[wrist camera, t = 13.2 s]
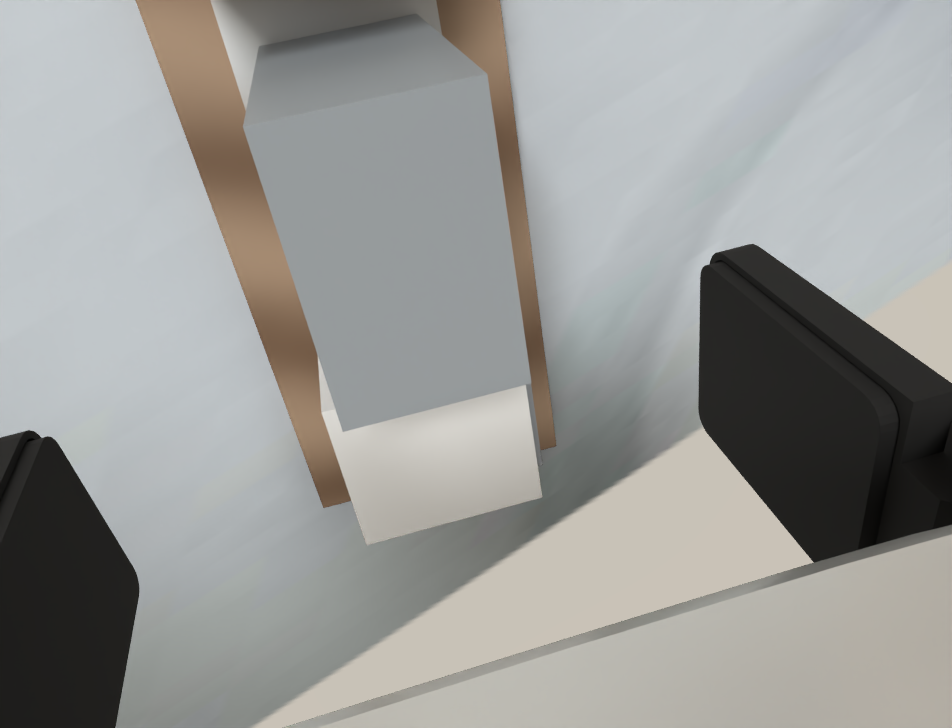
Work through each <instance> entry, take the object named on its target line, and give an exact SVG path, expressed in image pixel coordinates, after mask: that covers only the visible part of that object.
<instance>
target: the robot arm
mask: <svg viewBox="0 0 952 728" xmlns="http://www.w3.org/2000/svg"><path fill="white" fill-rule="evenodd" d="M699 416H700V420H701V422H702V425H703V427H704V429H705V431H706V432H707V434H708V435H709V436H710V437H711V438H712V440H713V441H714V442H715V443H716V444H717V446H718V447H719V448H720V449H721V451H722V452H723V453H724V454H725V455H726V456H727V458H728V459H729V460H730V461H731V463H732V464H733V465H734V466H735V467H736V469H737V470H738V471H739V472H740V474H741V475H742V476H743V477H744V478H745V480H746V481H747V482H748V483H749V484H750V485H751V487H752V488H753V489H754V490H755V492H756V493H757V494H758V495H759V497H760V498H761V499H762V500H763V501H764V503H765V504H766V505H767V506H768V507H769V509H770V510H771V511H772V512H773V513H774V515H775V516H776V517H777V518H778V520H779V521H780V522H781V523H782V524H783V526H784V527H785V528H786V529H787V530H788V532H789V533H790V534H791V535H792V536H793V538H794V539H795V540H796V541H797V543H798V544H799V545H800V546H801V547H802V549H803V550H804V551H805V552H806V554H807V555H808V556H809V557H810V558H811V560H812V561H813V562H814V563H812V564H808V565H804V566H801V567H798V568H794V569H791V570H788V571H784V572H781V573H778V574H775V575H771V576H768V577H765V578H762V579H758V580H755V581H752V582H749V583H745V584H742V585H739V586H736V587H732V588H729V589H726V590H723V591H719V592H716V593H713V594H710V595H706V596H703V597H700V598H696V599H693V600H690V601H687V602H684V603H680V604H677V605H674V606H670V607H667V608H664V609H661V610H657V611H654V612H651V613H648V614H644V615H641V616H638V617H635V618H631V619H628V620H625V621H621V622H618V623H615V624H612V625H609V626H605V627H602V628H599V629H596V630H593V631H589V632H586V633H583V634H580V635H576V636H573V637H570V638H567V639H564V640H560V641H557V642H554V643H551V644H548V645H544V646H541V647H538V648H535V649H531V650H528V651H525V652H522V653H519V654H515V655H513V656H509V657H506V658H503V659H499V660H496V661H493V662H490V663H487V664H483V665H480V666H477V667H474V668H471V669H467V670H464V671H461V672H458V673H455V674H452V675H448V676H445V677H442V678H439V679H436V680H432V681H429V682H427V683H423V684H420V685H416V686H413V687H410V688H407V689H404V690H401V691H397V692H394V693H391V694H388V695H385V696H381V697H378V698H375V699H372V700H369V701H365V702H362V703H359V704H356V705H353V706H350V707H347V708H343V709H341V710H337V711H334V712H331V713H328V714H325V715H321V716H319V717H315V718H312V719H309V720H306V721H303V722H300V723H296V724H293V725H290V726H287V727H284V728H952V383H951V382H949V381H948V380H946V379H945V378H944V377H942V376H941V375H939V374H938V373H936V372H935V371H934V370H932V369H931V368H929V367H928V366H927V365H925V364H924V363H922V362H921V361H920V360H918V359H917V358H915V357H914V356H912V355H911V354H910V353H908V352H907V351H905V350H904V349H902V348H901V347H900V346H898V345H897V344H895V343H894V342H893V341H891V340H890V339H888V338H887V337H886V336H884V335H883V334H881V333H880V332H879V331H877V330H875V329H874V328H873V327H871V326H870V325H869V324H867V323H866V322H864V321H863V320H862V319H860V318H859V317H857V316H856V315H855V314H853V313H852V312H850V311H849V310H848V309H846V308H845V307H843V306H842V305H840V304H839V303H838V302H836V301H835V300H833V299H832V298H831V297H829V296H828V295H826V294H825V293H824V292H822V291H821V290H819V289H818V288H816V287H815V286H814V285H812V284H811V283H809V282H808V281H807V280H805V279H804V278H802V277H801V276H800V275H798V274H797V273H795V272H794V271H792V270H791V269H790V268H788V267H787V266H785V265H784V264H783V263H781V262H780V261H778V260H777V259H776V258H774V257H773V256H771V255H770V254H768V253H767V252H766V251H764V250H763V249H761V248H760V247H759V246H757V245H754V244H749V245H745V246H741V247H737V248H733V249H730V250H726V251H722V252H718V253H715V254H714V255H713V256H712V258H711V261H710V265H706V266H704V267H703V268H702V271H701V277H700V343H699ZM138 598H139V583H138V578H137V575H136V572H135V570H134V568H133V566H132V564H131V563H130V561H129V559H128V558H127V556H126V554H125V553H124V551H123V550H122V548H121V546H120V545H119V543H118V541H117V540H116V538H115V536H114V535H113V533H112V531H111V530H110V528H109V527H108V525H107V523H106V522H105V520H104V518H103V517H102V515H101V513H100V512H99V510H98V508H97V507H96V505H95V504H94V502H93V500H92V499H91V497H90V495H89V494H88V492H87V490H86V489H85V487H84V485H83V484H82V482H81V481H80V479H79V477H78V476H77V474H76V472H75V471H74V469H73V467H72V466H71V464H70V462H69V461H68V459H67V458H66V456H65V454H64V453H63V451H62V449H61V448H60V446H59V445H58V443H57V442H56V441H55V440H54V439H53V438H52V437H44V438H41V437H40V436H39V435H38V434H37V433H35V432H34V431H30V430H28V431H25V432H21V433H17V434H13V435H9V436H5V437H1V438H0V728H115V726H116V721H117V715H118V709H119V704H120V698H121V693H122V687H123V682H124V676H125V670H126V665H127V659H128V654H129V648H130V643H131V637H132V631H133V626H134V620H135V615H136V609H137V604H138Z"/></svg>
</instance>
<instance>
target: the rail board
mask: <svg viewBox="0 0 952 728" xmlns="http://www.w3.org/2000/svg"><path fill="white" fill-rule="evenodd" d="M136 3H137V6H138V8H139V11H140V14H141V16H142V19H143V22H144V24H145V27H146V30H147V33H148V35H149V38H150V41H151V43H152V46H153V49H154V51H155V54H156V57H157V60H158V62H159V65H160V68H161V70H162V73H163V76H164V78H165V81H166V84H167V87H168V89H169V92H170V95H171V97H172V100H173V103H174V105H175V108H176V111H177V114H178V116H179V119H180V122H181V124H182V127H183V130H184V132H185V135H186V138H187V141H188V143H189V146H190V149H191V151H192V154H193V157H194V159H195V162H196V165H197V168H198V170H199V173H200V176H201V178H202V181H203V184H204V186H205V189H206V192H207V195H208V197H209V200H210V203H211V205H212V208H213V211H214V213H215V216H216V219H217V222H218V224H219V227H220V230H221V232H222V235H223V238H224V240H225V243H226V246H227V249H228V251H229V254H230V257H231V259H232V262H233V265H234V267H235V270H236V273H237V276H238V278H239V281H240V284H241V286H242V289H243V292H244V294H245V297H246V300H247V303H248V305H249V308H250V311H251V313H252V316H253V319H254V321H255V324H256V327H257V330H258V332H259V335H260V338H261V340H262V343H263V346H264V348H265V351H266V354H267V356H268V359H269V362H270V365H271V367H272V370H273V373H274V375H275V378H276V381H277V383H278V386H279V389H280V392H281V394H282V397H283V400H284V402H285V405H286V408H287V410H288V413H289V416H290V419H291V421H292V424H293V427H294V429H295V432H296V435H297V437H298V440H299V443H300V446H301V448H302V451H303V454H304V456H305V459H306V462H307V464H308V467H309V470H310V473H311V475H312V478H313V481H314V483H315V486H316V489H317V491H318V494H319V497H320V500H321V502H322V505H323V508H325V507H329V506H333V505H337V504H340V503H344V502H348V501H351V498H350V495H349V492H348V489H347V486H346V483H345V480H344V477H343V474H342V472H341V469H340V466H339V463H338V460H337V457H336V454H335V451H334V448H333V445H332V442H331V439H330V436H329V433H328V430H327V427H326V424H325V422H324V419H323V416H322V413H321V398H320V383H319V368H318V355H317V352H316V348H315V345H314V342H313V339H312V336H311V333H310V330H309V327H308V324H307V321H306V318H305V315H304V312H303V309H302V306H301V303H300V300H299V297H298V294H297V291H296V287H295V284H294V281H293V278H292V275H291V272H290V269H289V266H288V263H287V260H286V257H285V254H284V251H283V248H282V245H281V242H280V239H279V236H278V233H277V229H276V226H275V223H274V220H273V217H272V214H271V211H270V208H269V205H268V202H267V199H266V196H265V193H264V190H263V187H262V184H261V181H260V178H259V175H258V172H257V168H256V165H255V162H254V159H253V156H252V153H251V150H250V147H249V144H248V141H247V138H246V135H245V132H244V129H243V123H244V118H245V113H246V108H247V103H248V98H249V93H250V88H251V83H252V78H253V73H254V68H255V63H256V58H257V53H258V48H259V46H263V45H268V44H272V43H277V42H282V41H287V40H292V39H297V38H301V37H306V36H311V35H316V34H321V33H326V32H330V31H335V30H340V29H345V28H350V27H354V26H359V25H364V24H369V23H374V22H379V21H383V20H388V19H393V18H398V17H403V16H407V15H412V14H418V15H419V16H420V17H421V18H422V19H424V20H425V21H426V22H427V23H428V24H429V25H431V26H432V27H433V28H434V29H435V30H436V31H438V32H439V33H440V34H441V35H442V36H443V37H445V38H446V39H447V40H448V41H449V42H450V43H452V44H453V45H454V46H455V47H456V48H458V49H459V50H460V51H461V52H462V53H463V54H465V55H466V56H467V57H468V58H469V59H470V60H472V61H473V62H474V63H475V64H476V65H477V66H479V67H480V68H481V69H482V70H483V71H485V72H486V73H487V76H488V83H489V90H490V97H491V104H492V111H493V116H494V123H495V130H496V137H497V144H498V151H499V158H500V165H501V172H502V179H503V186H504V193H505V200H506V207H507V214H508V221H509V228H510V235H511V242H512V249H513V256H514V263H515V270H516V277H517V284H518V291H519V298H520V305H521V312H522V319H523V327H524V334H525V341H526V348H527V355H528V362H529V369H530V375H531V382H532V383H531V387H532V394H533V401H534V408H535V415H536V422H537V429H538V436H539V443H540V450H544V449H547V448H551V447H555V446H556V440H555V432H554V424H553V416H552V408H551V400H550V392H549V384H548V376H547V369H546V361H545V353H544V345H543V337H542V329H541V321H540V313H539V305H538V298H537V290H536V282H535V274H534V266H533V258H532V250H531V242H530V234H529V227H528V219H527V211H526V203H525V195H524V187H523V179H522V171H521V163H520V155H519V148H518V140H517V132H516V124H515V116H514V108H513V100H512V92H511V84H510V77H509V69H508V61H507V53H506V45H505V37H504V29H503V21H502V13H501V5H500V0H136Z"/></svg>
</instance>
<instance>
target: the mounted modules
mask: <svg viewBox="0 0 952 728" xmlns="http://www.w3.org/2000/svg"><path fill="white" fill-rule="evenodd" d="M318 368H319V383H320V398H321V413H322V416H323V419H324V422H325V424H326V427H327V430H328V433H329V436H330V439H331V442H332V445H333V448H334V451H335V454H336V457H337V460H338V463H339V466H340V469H341V472H342V474H343V477H344V480H345V483H346V486H347V489H348V492H349V495H350V498H351V501H352V504H353V507H354V510H355V513H356V516H357V519H358V522H359V525H360V527H361V530H362V533H363V536H364V539H365V542H366V545H369V544H373V543H377V542H380V541H384V540H388V539H392V538H395V537H399V536H403V535H406V534H410V533H414V532H417V531H421V530H425V529H428V528H432V527H436V526H439V525H443V524H447V523H450V522H454V521H458V520H461V519H465V518H469V517H472V516H476V515H480V514H483V513H487V512H491V511H494V510H498V509H502V508H505V507H509V506H513V505H517V504H520V503H524V502H528V501H531V500H535V499H539V498H542V492H541V485H540V478H539V471H538V466H542V458H541V450H540V443H539V436H538V429H537V422H536V415H535V408H534V401H533V394H532V387H531V384H527V385H523V386H519V387H515V388H511V389H508V390H504V391H500V392H496V393H492V394H488V395H484V396H480V397H477V398H473V399H469V400H465V401H461V402H457V403H453V404H449V405H446V406H442V407H438V408H434V409H430V410H426V411H422V412H418V413H414V414H411V415H407V416H403V417H399V418H395V419H391V420H387V421H383V422H380V423H376V424H372V425H368V426H364V427H360V428H356V429H352V430H349V431H345V432H343V431H342V428H341V425H340V422H339V419H338V416H337V413H336V409H335V406H334V403H333V400H332V397H331V394H330V391H329V388H328V385H327V382H326V379H325V376H324V373H323V370H322V367H321V364H320V361H319V358H318Z"/></svg>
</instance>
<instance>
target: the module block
mask: <svg viewBox="0 0 952 728" xmlns="http://www.w3.org/2000/svg"><path fill="white" fill-rule="evenodd" d="M243 129H244V132H245V135H246V138H247V141H248V144H249V147H250V150H251V153H252V156H253V159H254V162H255V165H256V168H257V172H258V175H259V178H260V181H261V184H262V187H263V190H264V193H265V196H266V199H267V202H268V205H269V208H270V211H271V214H272V217H273V220H274V223H275V226H276V229H277V233H278V236H279V239H280V242H281V245H282V248H283V251H284V254H285V257H286V260H287V263H288V266H289V269H290V272H291V275H292V278H293V281H294V284H295V287H296V291H297V294H298V297H299V300H300V303H301V306H302V309H303V312H304V315H305V318H306V321H307V324H308V327H309V330H310V333H311V336H312V339H313V342H314V345H315V348H316V352H317V355H318V358H319V361H320V364H321V367H322V370H323V373H324V376H325V379H326V382H327V385H328V388H329V391H330V394H331V397H332V400H333V403H334V406H335V409H336V413H337V416H338V419H339V422H340V425H341V428H342V431H343V432H345V431H349V430H352V429H356V428H360V427H364V426H368V425H372V424H376V423H380V422H383V421H387V420H391V419H395V418H399V417H403V416H407V415H411V414H414V413H418V412H422V411H426V410H430V409H434V408H438V407H442V406H446V405H449V404H453V403H457V402H461V401H465V400H469V399H473V398H477V397H480V396H484V395H488V394H492V393H496V392H500V391H504V390H508V389H511V388H515V387H519V386H523V385H527V384H531V383H532V382H531V375H530V369H529V362H528V355H527V348H526V341H525V334H524V327H523V319H522V312H521V305H520V298H519V291H518V284H517V277H516V270H515V263H514V256H513V249H512V242H511V235H510V228H509V221H508V214H507V207H506V200H505V193H504V186H503V179H502V172H501V165H500V158H499V151H498V144H497V137H496V130H495V123H494V116H493V111H492V104H491V97H490V90H489V83H488V76H487V73H486V72H485V71H483V70H482V69H481V68H480V67H479V66H477V65H476V64H475V63H474V62H473V61H472V60H470V59H469V58H468V57H467V56H466V55H465V54H463V53H462V52H461V51H460V50H459V49H458V48H456V47H455V46H454V45H453V44H452V43H450V42H449V41H448V40H447V39H446V38H445V37H443V36H442V35H441V34H440V33H439V32H438V31H436V30H435V29H434V28H433V27H432V26H431V25H429V24H428V23H427V22H426V21H425V20H424V19H422V18H421V17H420V16H419V15H418V14H412V15H407V16H403V17H398V18H393V19H388V20H383V21H379V22H374V23H369V24H364V25H359V26H354V27H350V28H345V29H340V30H335V31H330V32H326V33H321V34H316V35H311V36H306V37H301V38H297V39H292V40H287V41H282V42H277V43H272V44H268V45H263V46H259V48H258V53H257V58H256V63H255V68H254V73H253V78H252V83H251V88H250V93H249V98H248V103H247V108H246V113H245V118H244V123H243Z"/></svg>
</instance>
